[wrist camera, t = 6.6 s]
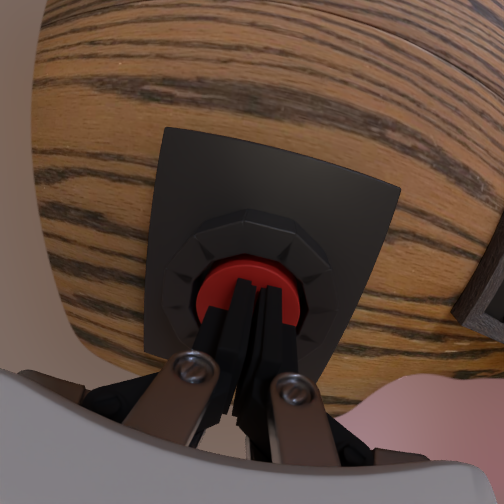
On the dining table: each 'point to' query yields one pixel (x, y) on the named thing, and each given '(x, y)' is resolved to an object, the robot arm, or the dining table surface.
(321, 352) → the switch block
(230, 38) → the dining table surface
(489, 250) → the picture frame
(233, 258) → the button
